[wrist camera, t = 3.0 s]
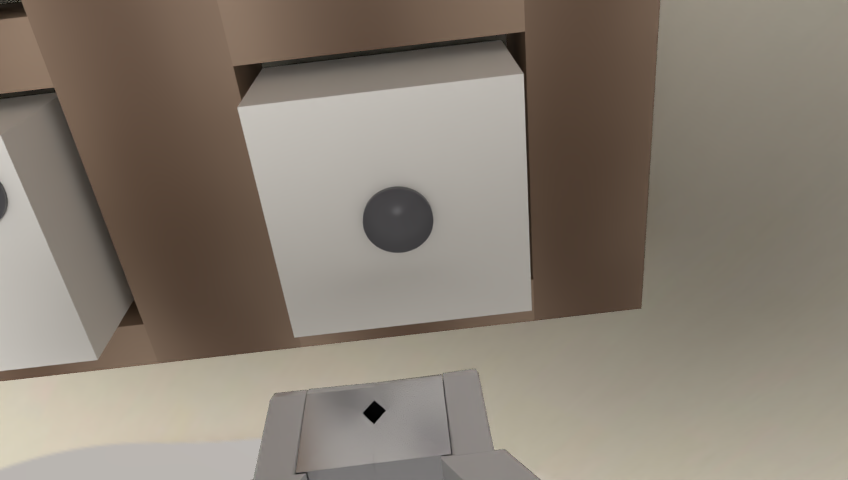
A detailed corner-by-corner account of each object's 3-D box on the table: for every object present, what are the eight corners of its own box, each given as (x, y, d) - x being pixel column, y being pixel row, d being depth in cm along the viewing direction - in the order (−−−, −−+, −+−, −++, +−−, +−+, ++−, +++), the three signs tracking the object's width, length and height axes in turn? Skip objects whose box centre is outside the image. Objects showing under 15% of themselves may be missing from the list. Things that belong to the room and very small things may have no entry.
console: (637, -521, 13) (697, -617, 11) (611, 256, 22) (641, 308, 19) (-543, -371, 14) (-765, -428, 11) (-110, 339, 22) (-176, 401, 20)
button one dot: (501, 39, 17) (525, 76, 14) (511, 248, 20) (533, 315, 17) (262, 68, 17) (235, 110, 14) (307, 271, 20) (293, 342, 17)
